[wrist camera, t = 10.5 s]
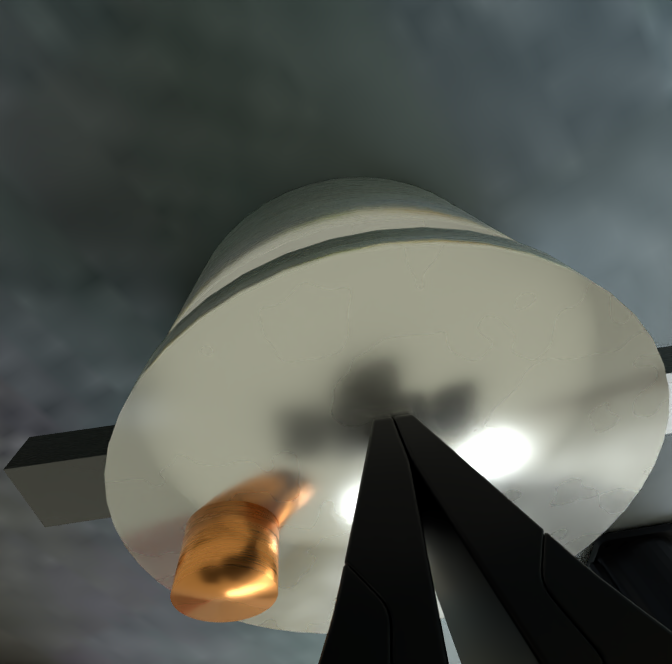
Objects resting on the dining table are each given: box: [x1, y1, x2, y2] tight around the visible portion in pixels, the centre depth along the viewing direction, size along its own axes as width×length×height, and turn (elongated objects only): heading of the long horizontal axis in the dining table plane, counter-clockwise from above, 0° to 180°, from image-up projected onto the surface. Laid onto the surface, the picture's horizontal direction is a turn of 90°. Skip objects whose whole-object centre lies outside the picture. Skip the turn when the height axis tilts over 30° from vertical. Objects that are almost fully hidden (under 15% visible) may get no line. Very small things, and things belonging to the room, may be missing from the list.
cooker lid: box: [104, 227, 669, 633], centre depth 10 cm, size 13×13×2 cm
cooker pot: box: [4, 177, 672, 527], centre depth 14 cm, size 20×14×6 cm
